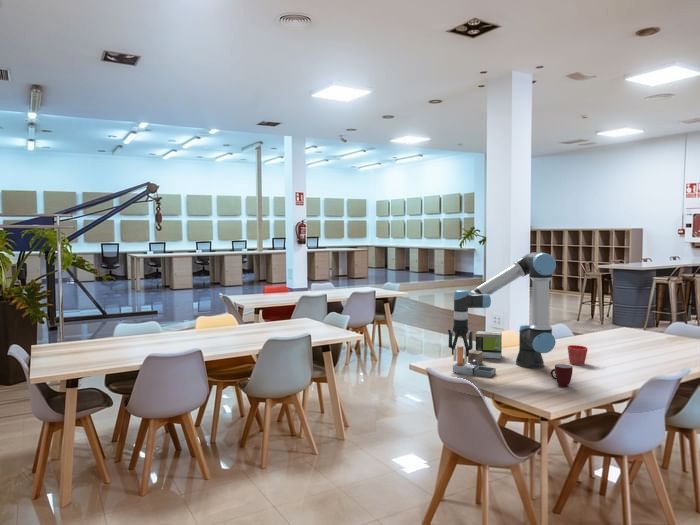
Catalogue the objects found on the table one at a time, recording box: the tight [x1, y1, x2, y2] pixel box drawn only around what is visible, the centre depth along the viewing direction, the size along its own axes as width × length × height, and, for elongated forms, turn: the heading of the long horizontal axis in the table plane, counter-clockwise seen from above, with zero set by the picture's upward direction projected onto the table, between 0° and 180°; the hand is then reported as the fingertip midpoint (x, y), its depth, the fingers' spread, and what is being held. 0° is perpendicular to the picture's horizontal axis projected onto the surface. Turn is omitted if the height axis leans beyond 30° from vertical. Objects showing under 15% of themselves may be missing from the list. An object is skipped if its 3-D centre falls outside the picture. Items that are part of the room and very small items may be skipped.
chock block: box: [467, 349, 483, 366], centre depth 299 cm, size 6×8×7 cm
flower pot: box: [567, 344, 588, 366], centre depth 300 cm, size 11×11×10 cm
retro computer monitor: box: [475, 331, 503, 359], centre depth 317 cm, size 15×10×15 cm
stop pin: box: [456, 345, 464, 366], centre depth 281 cm, size 3×3×14 cm
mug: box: [550, 363, 573, 388], centre depth 256 cm, size 11×8×10 cm
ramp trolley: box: [452, 357, 480, 376], centre depth 283 cm, size 11×13×6 cm
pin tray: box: [473, 365, 497, 378], centre depth 276 cm, size 9×9×3 cm
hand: (460, 361), depth 281 cm, fingers open, 5 cm apart
